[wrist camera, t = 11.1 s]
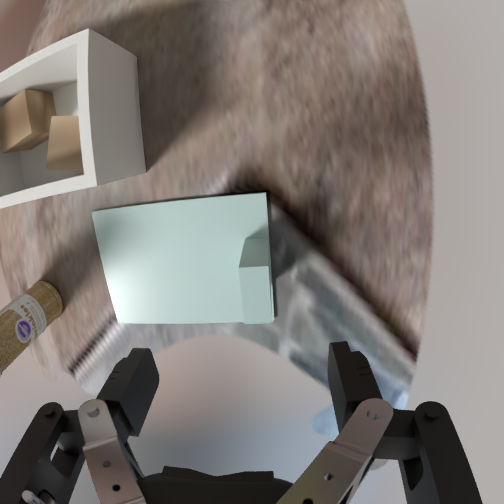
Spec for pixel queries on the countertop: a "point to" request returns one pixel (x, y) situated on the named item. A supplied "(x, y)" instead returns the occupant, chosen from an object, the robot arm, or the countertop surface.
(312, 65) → the countertop surface
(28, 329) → the sprinkles bottle
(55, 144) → the block
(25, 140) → the block
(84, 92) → the tub
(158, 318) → the lid
